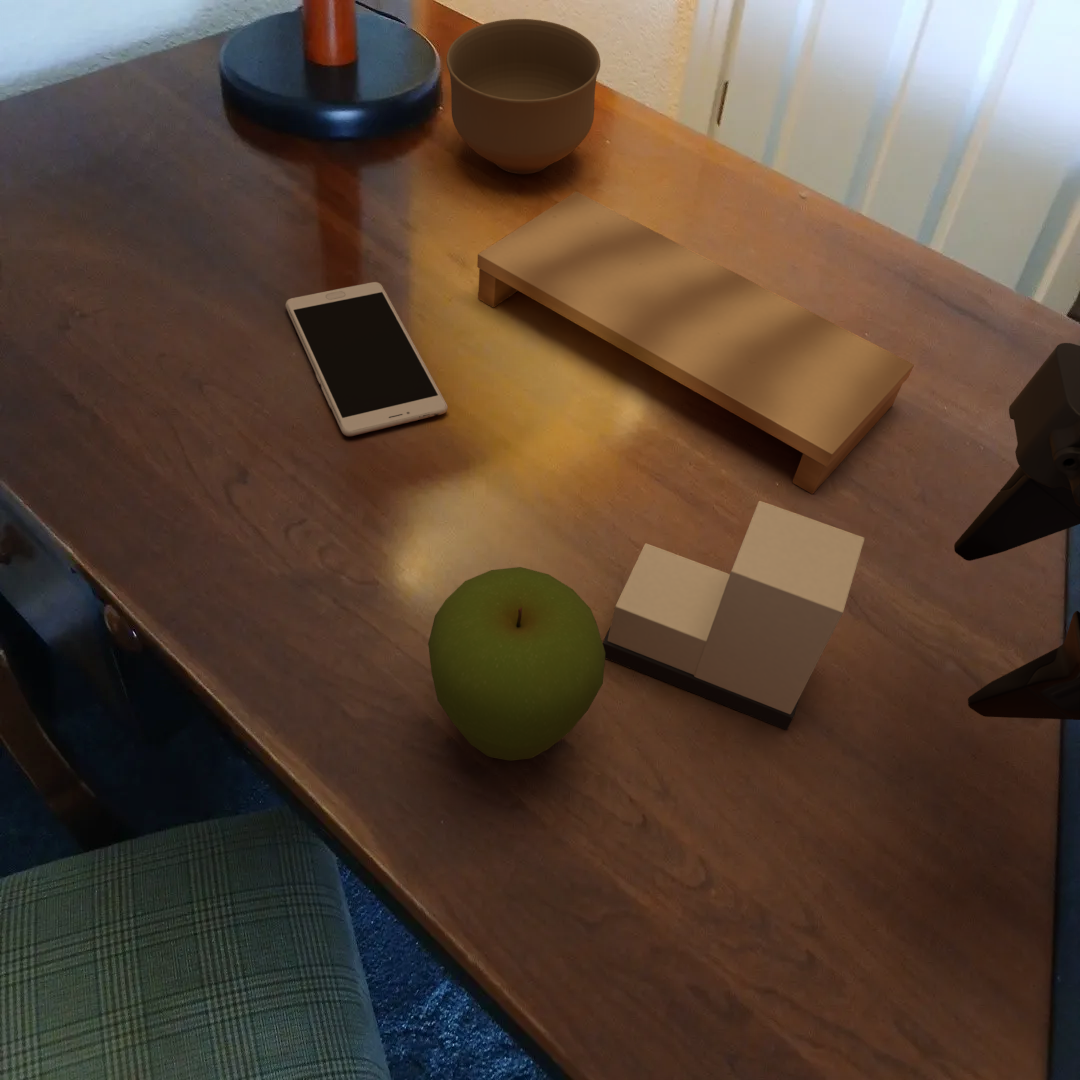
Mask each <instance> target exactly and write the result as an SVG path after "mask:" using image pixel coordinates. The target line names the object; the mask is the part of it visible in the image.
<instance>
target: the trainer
mask: <svg viewBox="0 0 1080 1080" xmlns="http://www.w3.org/2000/svg"><path fill="white" fill-rule="evenodd" d="M865 540H866V539H865V537H863V536H861V535H858V534H856V533H852V532H849V531H847V530H844V529H841V528H838V527H835V526H832V525H830V524H827V523H825V522H821V521H819V520H816V519H813V518H810V517H807V516H805V515H802V514H799V513H795V512H793V511H790V510H788V509H785V508H782V507H779V506H776V505H773V504H771V503H768V502H766V501H765V502H764V501H762V500H758V502H757V505H756V507H755V509H754V512H753V514H752V517H751V520H750V522H749V525H748V527H747V529H746V532H745V534H744V537H743V540H742V543H741V544H740V548H739V550H738V553H737V555H736V558H735V560H734V563H733V565H732V567H731V571H730V573H727V572H725V571H722V570H720V569H717V568H714V567H712V566H708V565H706V564H703V563H700V562H699V561H696V560H693V559H690V558H687V557H684V556H681V555H680V554H676V553H673V552H671V551H668V550H666V549H663V548H660V547H658V546H655V545H652V544H649V543H645V542H644V545H643V546H642V549H641V551H640V553H639V555H638V557H637V559H636V562H635V564H634V566H633V568H632V570H631V572H630V574H629V576H628V578H627V580H626V582H625V585H624V587H623V589H622V591H621V593H620V596H619V598H618V600H617V602H616V604H615V605H614V610H613V613H612V619H611V624H610V626H609V629H608V630H607V633H606V634H605V637H604V639H603V641H602V643H603V646H604V650H605V653H606V654H605V660H608V661H611V662H614V663H616V664H619V665H622V666H624V667H626V668H628V669H632V670H634V671H637V672H639V673H641V674H644V675H646V676H649V677H652V678H654V679H656V680H659V681H661V682H664V683H666V684H669V685H672V686H675V687H677V688H678V689H682V690H684V691H687V692H690V693H692V694H694V695H697V696H700V697H702V698H704V699H706V700H709V701H712V702H715V703H717V704H719V705H722V706H725V707H727V708H730V709H732V710H735V711H738V712H740V713H743V714H745V715H748V716H749V717H752V718H755V719H758V720H760V721H762V722H764V723H767V724H770V725H772V726H775V727H777V728H780V729H783V730H785V731H788V729H789V727H790V726H791V724H792V722H793V720H794V717H795V715H796V711H797V708H798V705H799V701H800V699H801V695H802V694H803V692H804V690H805V688H806V686H807V684H808V682H809V680H810V678H811V677H812V676H811V675H812V674H813V672H814V670H815V668H816V666H817V665H818V663H819V660H820V659H821V657H822V655H823V653H824V651H825V648H826V647H827V645H828V643H829V642H830V639H831V637H832V635H833V633H834V632H835V630H836V628H837V626H838V624H839V622H840V620H841V618H842V616H843V614H844V611H845V607H846V604H847V601H848V597H849V594H850V590H851V588H852V583H853V580H854V578H855V574H856V570H857V567H858V564H859V560H860V556H861V553H862V550H863V546H864V543H865Z"/></svg>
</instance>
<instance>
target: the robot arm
mask: <svg viewBox="0 0 1080 1080" xmlns="http://www.w3.org/2000/svg"><path fill="white" fill-rule="evenodd" d="M1008 414H1009V419H1010V420H1013V423H1014V429H1015V436H1016V442H1017V443H1016V448H1015V451H1014V452H1015V459H1016V462H1017V465H1018V467H1017V469H1016V470H1015V471H1014V472H1013V474H1012V475H1011V476H1010V478H1009V479H1008V480H1007V482H1005V484H1004V485H1003V486H1002V487H1001V489H999V491H998V492H997V493H996V494H995V496H994V497H993V498H992V499H991V500H990V501H989V502H988V504H987V505H986V506H985V507H984V508H983V510H982V511H981V512H980V513H979V514H978V516H977V517H976V518H975V519H974V520H973V521H972V522H971V524H970V525H969V526H968V527H967V529H965V531H964V532H963V533H962V534H961V535H960V537H958V539H956V541H955V543H954V544H953V549H954V550H953V551H954V553H955V554H957V556H959V557H961V558H962V559H963V560H965V561H967V562H969V561H970V562H971V561H975V560H979V559H982V558H987V557H990V556H994V555H997V554H1000V553H1004V552H1007V551H1010V550H1012V549H1015V548H1018V547H1020V546H1023V545H1026V544H1029V543H1031V542H1035V541H1037V540H1041V539H1043V538H1046V537H1048V536H1051V535H1053V534H1057V533H1059V532H1062V531H1065V530H1068V529H1071V528H1073V527H1076V526H1079V525H1080V345H1078V344H1075V343H1071V342H1062V343H1059V344H1057V345H1056V347H1055V348H1054V349H1053V350H1052V352H1051V353H1050V354H1049V355H1048V356H1047V358H1046V359H1045V360H1044V362H1043V363H1042V364H1041V366H1040V367H1039V368H1038V370H1036V372H1035V373H1034V375H1033V376H1032V377H1031V378H1030V379H1029V381H1028V382H1027V383H1026V384H1025V386H1024V387H1023V388H1022V390H1021V391H1020V392H1019V393H1018V395H1017V396H1016V397H1015V399H1013V401H1012V402H1011V403H1010V405H1009V407H1008ZM1069 623H1070V624H1069V626H1068V629H1067V632H1066V635H1065V639H1064V641H1063V643H1062V644H1061V645H1059V646H1058V647H1056V648H1054V649H1051V650H1050V651H1048V652H1046V653H1044V654H1042V655H1041V656H1039V657H1037V658H1035V659H1033V660H1030V661H1029V662H1026V663H1024V664H1023V665H1021V666H1019V667H1017V668H1015V669H1013V670H1011V671H1009V672H1007V673H1006V674H1004V675H1001V676H999V677H997V678H996V679H994V680H992V681H990V682H989V683H987V684H986V685H984V686H983V687H981V688H980V689H977V691H975V692H974V693H973V694H970V696H968V697H967V705H968V708H970V709H971V710H972V711H974V712H976V714H978V715H980V716H982V717H986V718H1010V719H1011V718H1013V719H1042V720H1043V719H1045V720H1073V721H1080V611H1079V610H1076V611H1074V612H1073V614H1072V616H1071V619H1070V622H1069Z"/></svg>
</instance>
